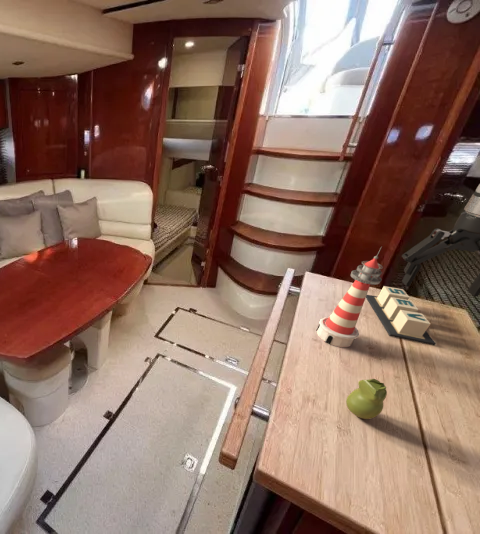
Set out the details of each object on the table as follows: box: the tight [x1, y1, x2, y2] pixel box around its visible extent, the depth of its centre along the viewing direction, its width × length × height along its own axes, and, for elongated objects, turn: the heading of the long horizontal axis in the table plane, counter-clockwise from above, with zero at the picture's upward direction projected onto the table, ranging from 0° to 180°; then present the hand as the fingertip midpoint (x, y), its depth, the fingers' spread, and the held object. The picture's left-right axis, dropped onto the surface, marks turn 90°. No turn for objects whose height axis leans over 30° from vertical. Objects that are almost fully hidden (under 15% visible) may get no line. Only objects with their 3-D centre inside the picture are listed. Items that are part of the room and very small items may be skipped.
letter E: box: [384, 297, 420, 319], centre depth 95 cm, size 5×5×5 cm
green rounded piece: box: [345, 378, 388, 420], centre depth 67 cm, size 6×5×10 cm
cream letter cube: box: [392, 310, 431, 337], centre depth 89 cm, size 5×5×5 cm
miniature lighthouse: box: [316, 246, 384, 348], centre depth 82 cm, size 9×9×30 cm
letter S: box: [377, 285, 410, 307], centre depth 100 cm, size 5×5×5 cm
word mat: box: [365, 294, 437, 346], centre depth 96 cm, size 10×22×1 cm, turn 156°
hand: (437, 288), depth 83 cm, fingers open, 13 cm apart
